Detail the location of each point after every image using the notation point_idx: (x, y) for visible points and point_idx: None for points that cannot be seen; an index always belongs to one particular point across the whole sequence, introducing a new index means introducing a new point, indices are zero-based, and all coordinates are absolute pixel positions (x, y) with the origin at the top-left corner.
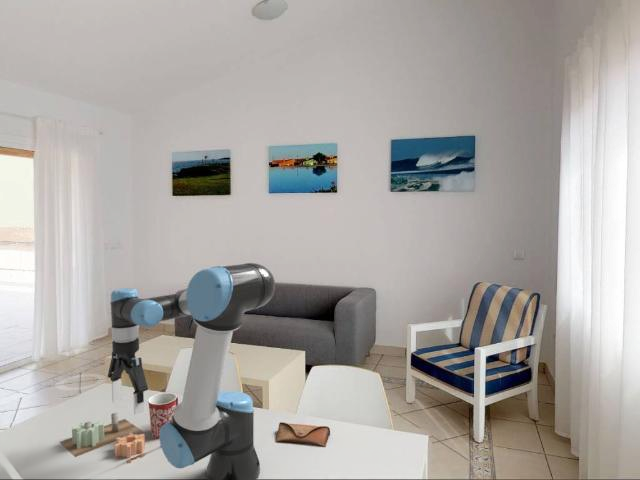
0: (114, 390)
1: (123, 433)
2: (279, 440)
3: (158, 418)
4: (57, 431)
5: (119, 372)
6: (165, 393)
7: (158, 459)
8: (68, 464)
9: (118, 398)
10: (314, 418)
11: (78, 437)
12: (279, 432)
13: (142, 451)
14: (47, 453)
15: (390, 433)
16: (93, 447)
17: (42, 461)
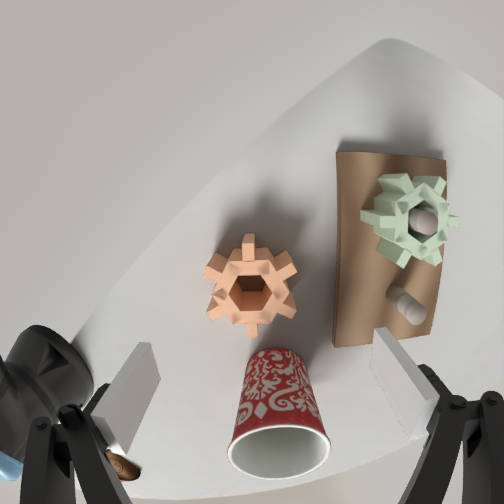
0: (399, 371)
1: (363, 305)
2: (106, 452)
3: (248, 398)
4: (498, 192)
5: (406, 490)
6: (311, 468)
7: (176, 315)
8: (335, 134)
9: (376, 358)
10: (147, 497)
11: (394, 177)
12: (118, 465)
13: (211, 300)
14: (426, 125)
15: (75, 485)
16: (354, 210)
17: (396, 100)
